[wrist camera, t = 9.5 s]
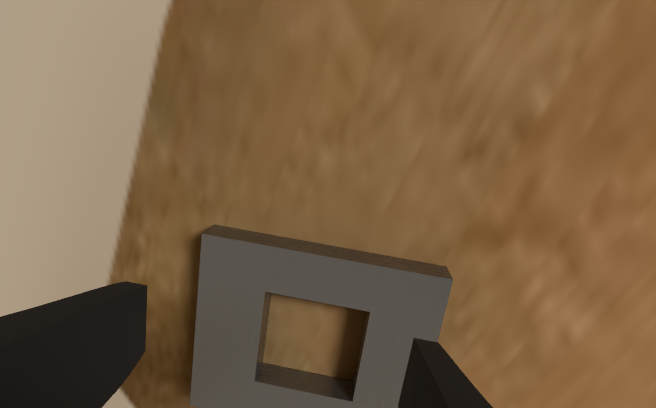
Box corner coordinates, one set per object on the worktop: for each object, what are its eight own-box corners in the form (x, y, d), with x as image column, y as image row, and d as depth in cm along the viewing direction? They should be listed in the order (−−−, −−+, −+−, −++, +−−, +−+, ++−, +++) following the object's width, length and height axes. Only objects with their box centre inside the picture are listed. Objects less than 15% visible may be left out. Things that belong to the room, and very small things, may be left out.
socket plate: (406, 430, 21) (409, 453, 20) (201, 386, 22) (189, 405, 20) (446, 266, 19) (453, 279, 17) (214, 224, 19) (201, 233, 18)
